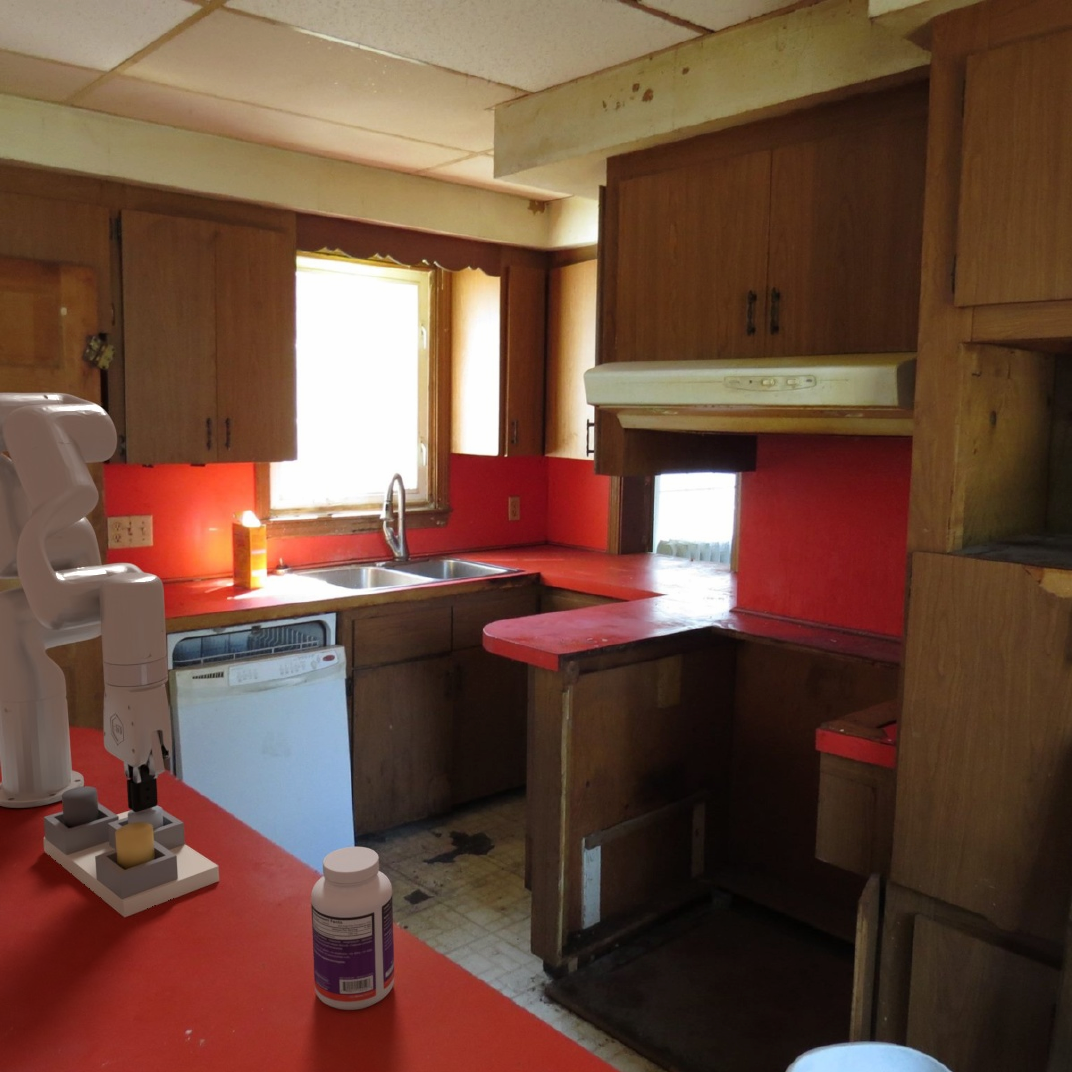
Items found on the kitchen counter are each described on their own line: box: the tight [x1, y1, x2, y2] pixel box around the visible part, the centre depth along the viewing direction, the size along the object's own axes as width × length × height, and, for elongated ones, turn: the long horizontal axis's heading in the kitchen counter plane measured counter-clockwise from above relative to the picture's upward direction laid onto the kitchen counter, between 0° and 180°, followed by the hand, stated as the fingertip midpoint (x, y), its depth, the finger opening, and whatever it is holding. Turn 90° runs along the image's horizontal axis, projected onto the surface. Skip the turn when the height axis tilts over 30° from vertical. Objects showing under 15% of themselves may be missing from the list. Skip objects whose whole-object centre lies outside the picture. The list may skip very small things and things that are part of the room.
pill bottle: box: [310, 846, 395, 1011], centre depth 102 cm, size 8×8×14 cm
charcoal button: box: [61, 785, 99, 828], centre depth 132 cm, size 4×4×4 cm
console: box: [42, 802, 220, 918], centre depth 129 cm, size 24×12×5 cm, turn 46°
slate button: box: [128, 805, 163, 829], centre depth 130 cm, size 4×4×4 cm
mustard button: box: [115, 822, 155, 869], centre depth 121 cm, size 4×4×4 cm
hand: (143, 807), depth 130 cm, fingers closed
